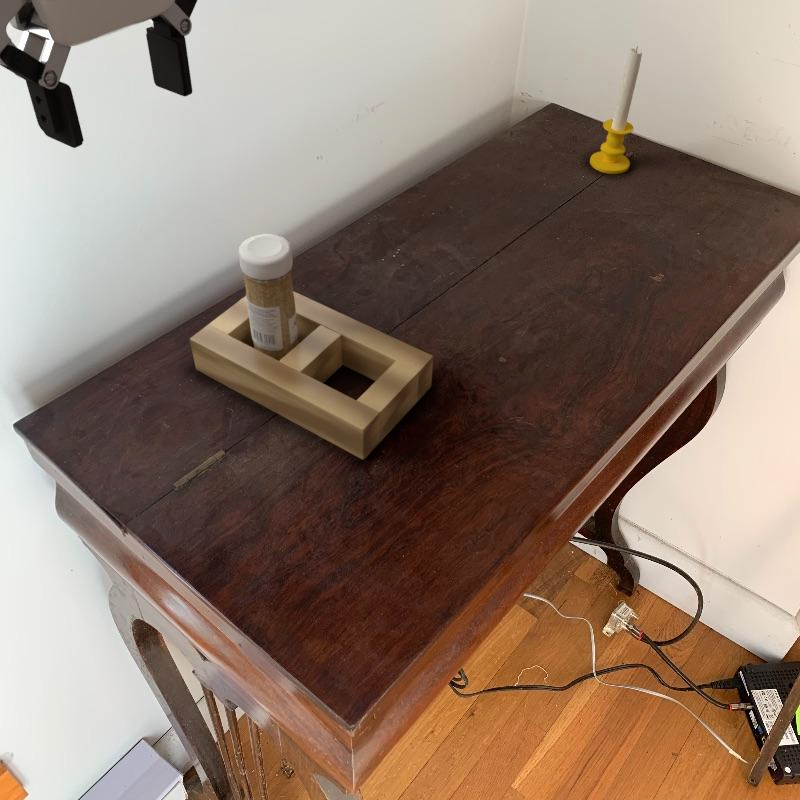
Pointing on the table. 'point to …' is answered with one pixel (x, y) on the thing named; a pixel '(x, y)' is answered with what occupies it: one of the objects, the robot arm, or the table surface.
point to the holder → (318, 373)
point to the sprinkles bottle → (270, 293)
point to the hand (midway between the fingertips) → (122, 114)
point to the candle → (619, 123)
